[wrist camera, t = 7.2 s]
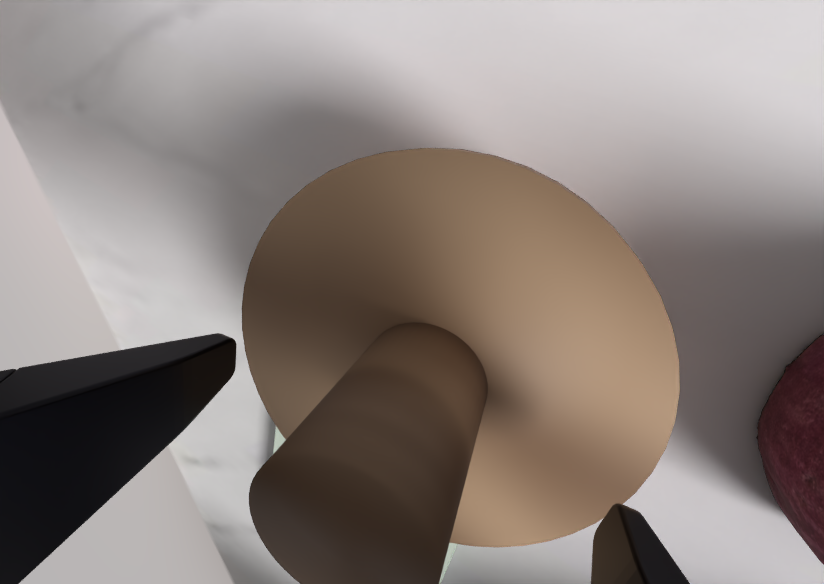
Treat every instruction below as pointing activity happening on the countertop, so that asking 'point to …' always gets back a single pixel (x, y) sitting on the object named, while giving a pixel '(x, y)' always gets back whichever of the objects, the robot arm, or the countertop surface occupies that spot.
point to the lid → (447, 366)
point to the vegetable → (798, 445)
